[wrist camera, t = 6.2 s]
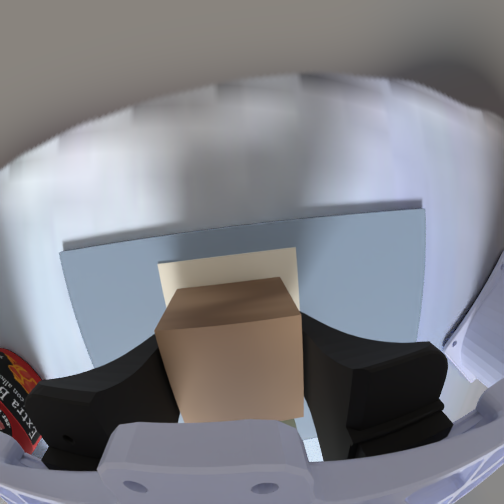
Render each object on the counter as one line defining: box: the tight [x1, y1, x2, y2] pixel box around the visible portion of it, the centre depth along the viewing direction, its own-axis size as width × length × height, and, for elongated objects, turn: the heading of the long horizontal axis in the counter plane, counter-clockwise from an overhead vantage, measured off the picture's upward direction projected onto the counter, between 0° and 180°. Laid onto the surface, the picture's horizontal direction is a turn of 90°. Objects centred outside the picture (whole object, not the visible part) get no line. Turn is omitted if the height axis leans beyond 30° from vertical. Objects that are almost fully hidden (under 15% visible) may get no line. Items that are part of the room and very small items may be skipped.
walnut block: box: [154, 277, 304, 423], centre depth 10 cm, size 4×4×4 cm
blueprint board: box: [59, 208, 426, 440], centre depth 14 cm, size 20×15×1 cm
